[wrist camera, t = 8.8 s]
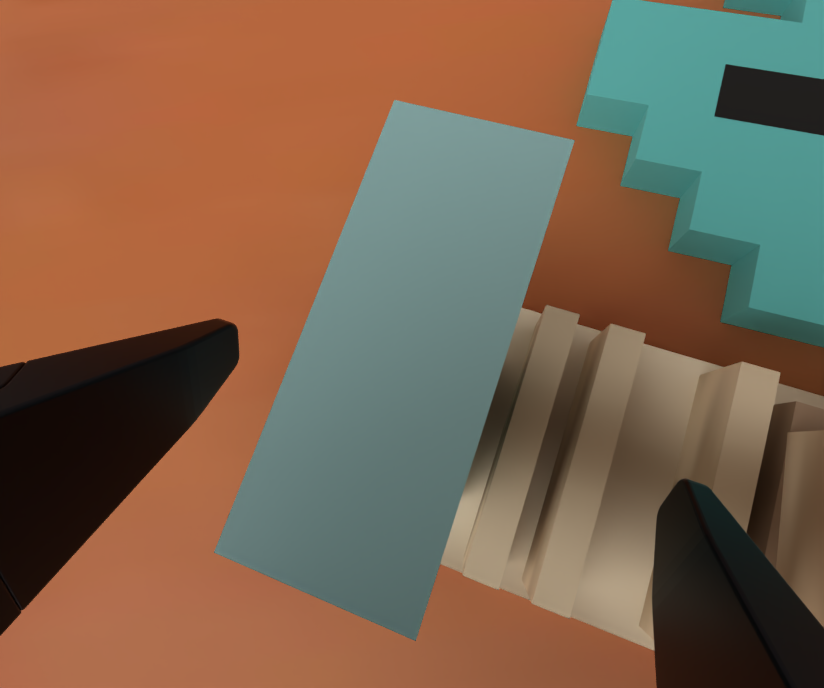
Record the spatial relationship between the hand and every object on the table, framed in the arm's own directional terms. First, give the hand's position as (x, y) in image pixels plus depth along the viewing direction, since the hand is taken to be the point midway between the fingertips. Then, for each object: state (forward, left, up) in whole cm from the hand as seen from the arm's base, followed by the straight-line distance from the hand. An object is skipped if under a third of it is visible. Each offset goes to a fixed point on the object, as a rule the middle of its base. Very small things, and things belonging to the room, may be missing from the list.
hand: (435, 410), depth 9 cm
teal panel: (0, 0, -7) cm, 7 cm away
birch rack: (+1, -6, -8) cm, 10 cm away
